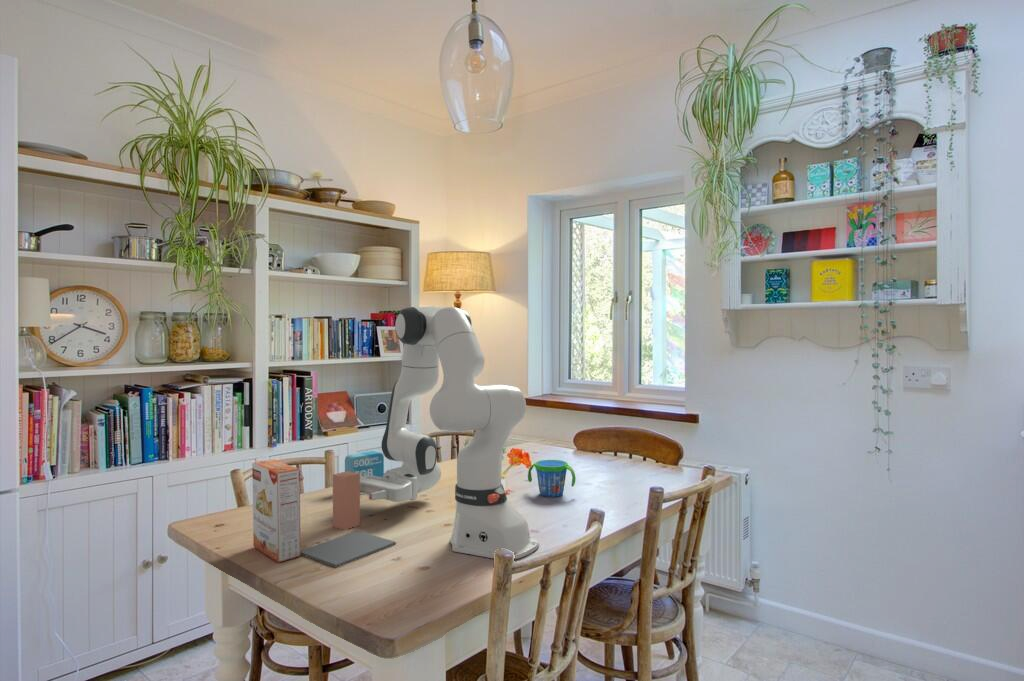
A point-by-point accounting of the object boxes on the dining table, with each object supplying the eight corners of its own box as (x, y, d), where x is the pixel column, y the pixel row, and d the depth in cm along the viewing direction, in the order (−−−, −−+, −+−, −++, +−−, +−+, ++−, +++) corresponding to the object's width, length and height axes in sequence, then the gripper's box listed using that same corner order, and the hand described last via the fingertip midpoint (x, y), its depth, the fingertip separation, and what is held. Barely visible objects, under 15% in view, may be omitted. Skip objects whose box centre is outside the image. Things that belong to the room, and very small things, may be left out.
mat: (395, 544, 151) (395, 541, 151) (336, 567, 137) (336, 564, 137) (357, 532, 160) (357, 530, 160) (297, 553, 145) (297, 551, 145)
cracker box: (251, 548, 149) (251, 462, 148) (276, 541, 153) (275, 458, 152) (276, 564, 139) (275, 472, 138) (301, 557, 143) (301, 467, 142)
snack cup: (521, 494, 196) (522, 463, 196) (537, 487, 205) (537, 457, 205) (566, 502, 188) (566, 469, 188) (580, 494, 198) (580, 462, 197)
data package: (351, 495, 195) (351, 457, 195) (344, 492, 199) (344, 455, 198) (384, 488, 204) (384, 452, 204) (376, 485, 207) (376, 450, 207)
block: (359, 525, 166) (359, 473, 166) (345, 530, 162) (344, 477, 161) (347, 521, 169) (347, 471, 168) (332, 526, 165) (332, 474, 164)
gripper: (372, 468, 186) (334, 477, 175) (420, 478, 174) (384, 488, 163) (372, 488, 186) (334, 499, 175) (420, 500, 174) (384, 511, 163)
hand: (358, 494), depth 169 cm, fingers open, 8 cm apart
